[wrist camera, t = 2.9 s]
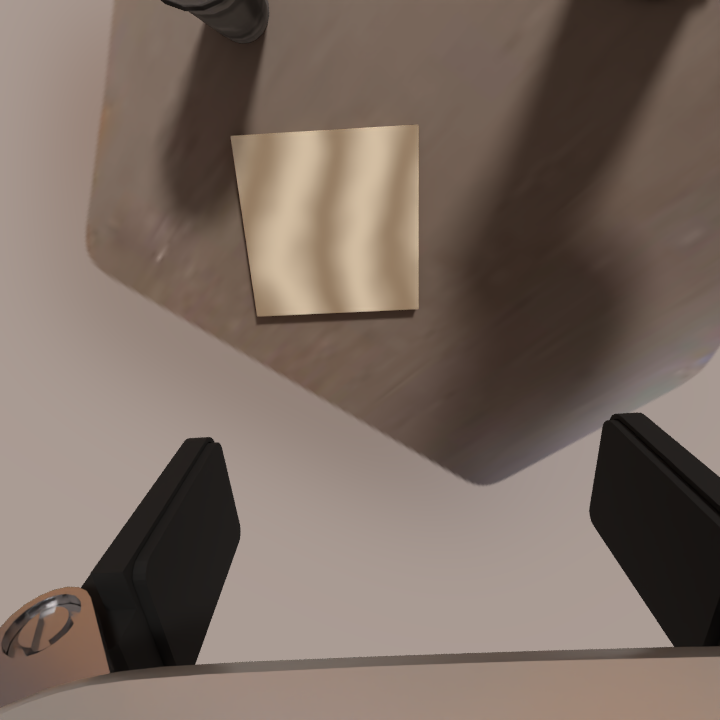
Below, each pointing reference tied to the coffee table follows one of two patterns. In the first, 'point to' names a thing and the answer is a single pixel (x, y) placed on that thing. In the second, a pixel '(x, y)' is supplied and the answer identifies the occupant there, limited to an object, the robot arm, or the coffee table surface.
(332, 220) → the birch board
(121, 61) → the coffee table surface
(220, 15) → the beverage cup
